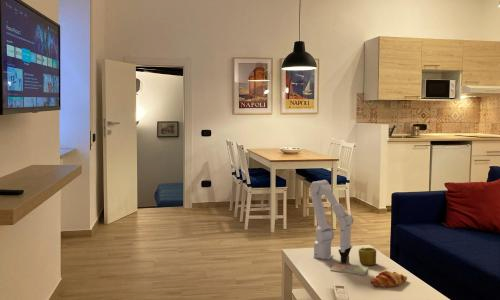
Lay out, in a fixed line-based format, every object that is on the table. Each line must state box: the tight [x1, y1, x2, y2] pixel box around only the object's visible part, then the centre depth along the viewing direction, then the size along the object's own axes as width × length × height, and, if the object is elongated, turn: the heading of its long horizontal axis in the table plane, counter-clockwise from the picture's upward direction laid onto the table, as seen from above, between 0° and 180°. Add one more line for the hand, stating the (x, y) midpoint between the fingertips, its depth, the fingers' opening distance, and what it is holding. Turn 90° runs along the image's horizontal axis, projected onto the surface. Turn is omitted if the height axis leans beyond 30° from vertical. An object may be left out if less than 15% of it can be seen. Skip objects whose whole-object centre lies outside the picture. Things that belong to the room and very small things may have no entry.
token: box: [339, 255, 350, 265], centre depth 256 cm, size 4×4×4 cm
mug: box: [358, 246, 377, 266], centre depth 257 cm, size 12×10×10 cm
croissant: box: [369, 270, 408, 288], centre depth 227 cm, size 21×10×8 cm, turn 112°
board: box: [330, 262, 369, 276], centre depth 247 cm, size 18×11×1 cm, turn 68°
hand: (344, 261), depth 256 cm, fingers closed on token, 4 cm apart
